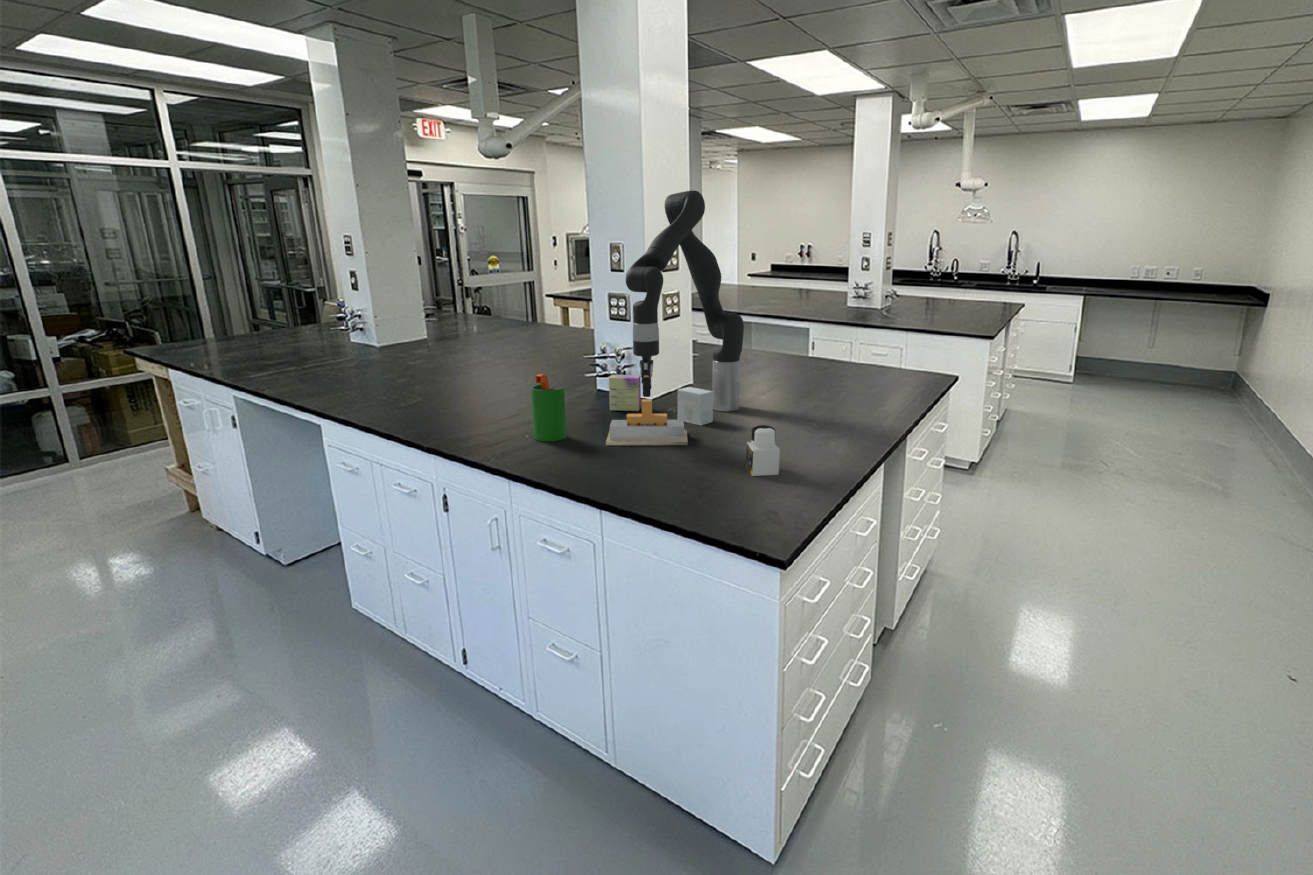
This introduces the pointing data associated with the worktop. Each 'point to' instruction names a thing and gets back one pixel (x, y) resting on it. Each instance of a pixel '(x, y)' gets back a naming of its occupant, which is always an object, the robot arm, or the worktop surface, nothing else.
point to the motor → (548, 411)
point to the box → (625, 392)
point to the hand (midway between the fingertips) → (647, 392)
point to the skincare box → (695, 405)
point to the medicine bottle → (762, 452)
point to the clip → (646, 415)
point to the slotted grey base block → (647, 433)
